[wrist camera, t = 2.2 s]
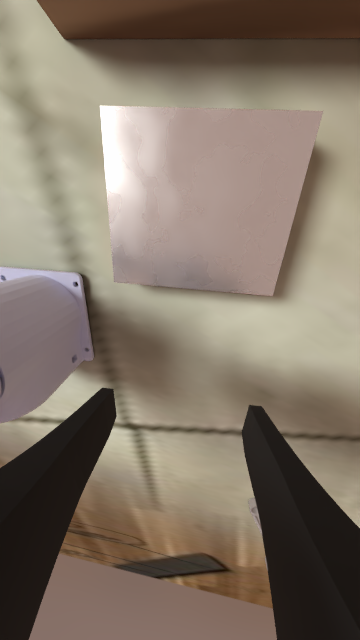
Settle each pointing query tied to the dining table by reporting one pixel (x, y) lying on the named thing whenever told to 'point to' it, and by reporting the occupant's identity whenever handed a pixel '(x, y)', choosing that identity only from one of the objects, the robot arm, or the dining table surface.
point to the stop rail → (204, 18)
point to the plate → (204, 193)
